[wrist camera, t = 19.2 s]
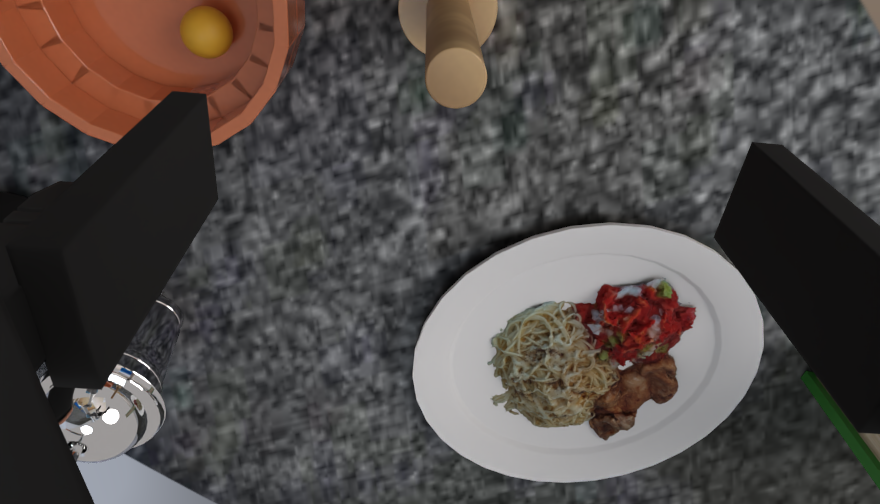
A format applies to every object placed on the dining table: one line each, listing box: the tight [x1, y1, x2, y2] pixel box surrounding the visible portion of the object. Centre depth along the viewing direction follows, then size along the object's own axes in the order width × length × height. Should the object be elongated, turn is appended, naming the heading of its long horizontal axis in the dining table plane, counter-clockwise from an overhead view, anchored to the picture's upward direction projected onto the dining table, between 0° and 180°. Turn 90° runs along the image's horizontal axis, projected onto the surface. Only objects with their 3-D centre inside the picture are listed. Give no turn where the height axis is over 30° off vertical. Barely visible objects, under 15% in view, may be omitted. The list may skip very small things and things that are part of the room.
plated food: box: [412, 222, 764, 483], centre depth 53 cm, size 30×30×3 cm
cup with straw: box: [40, 295, 183, 463], centre depth 43 cm, size 8×9×20 cm
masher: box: [398, 0, 498, 108], centre depth 32 cm, size 6×6×15 cm
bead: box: [180, 6, 233, 59], centre depth 37 cm, size 3×3×3 cm
